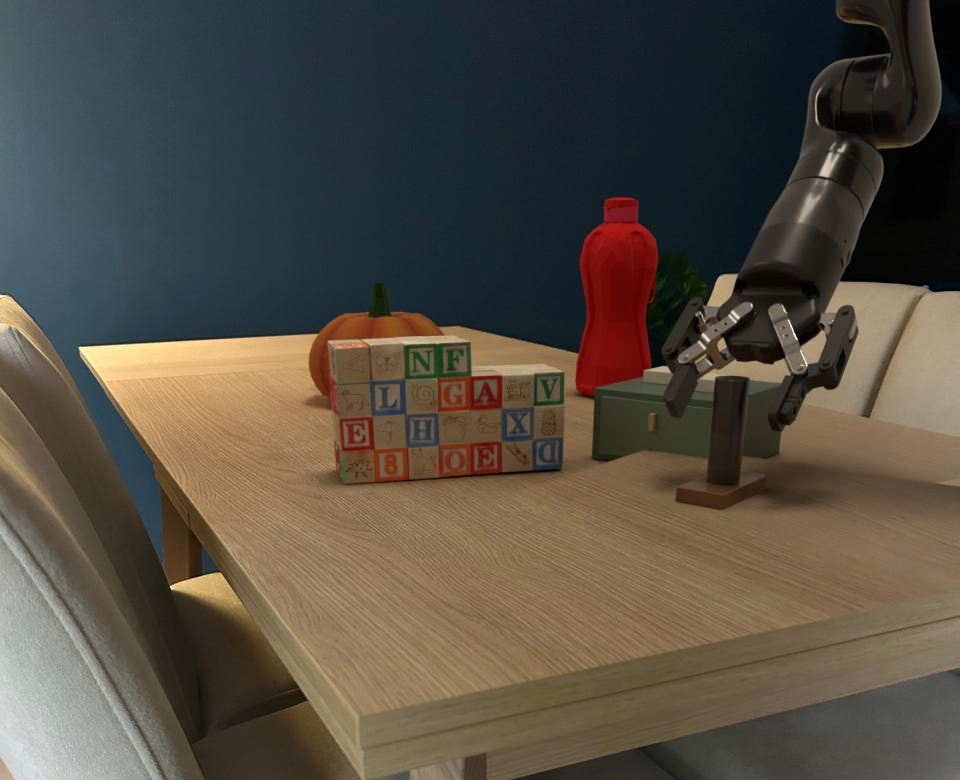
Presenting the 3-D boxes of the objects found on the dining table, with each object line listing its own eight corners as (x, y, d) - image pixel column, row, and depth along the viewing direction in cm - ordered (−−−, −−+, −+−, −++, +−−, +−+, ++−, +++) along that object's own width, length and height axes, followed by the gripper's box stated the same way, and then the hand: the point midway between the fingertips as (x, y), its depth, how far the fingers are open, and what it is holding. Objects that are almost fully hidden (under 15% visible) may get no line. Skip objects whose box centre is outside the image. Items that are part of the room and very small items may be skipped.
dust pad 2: (733, 388, 95) (734, 375, 95) (714, 393, 92) (716, 380, 92) (696, 384, 97) (697, 372, 97) (677, 389, 95) (678, 376, 94)
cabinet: (779, 452, 100) (787, 383, 98) (714, 479, 90) (721, 403, 87) (659, 436, 108) (664, 372, 106) (587, 459, 98) (589, 388, 95)
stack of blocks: (544, 456, 99) (546, 331, 94) (563, 470, 93) (567, 337, 89) (334, 469, 94) (325, 338, 89) (341, 484, 89) (333, 345, 84)
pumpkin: (398, 384, 145) (394, 277, 139) (482, 400, 131) (482, 282, 125) (285, 399, 133) (275, 283, 127) (365, 418, 120) (358, 289, 114)
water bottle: (669, 395, 134) (683, 197, 124) (604, 402, 129) (614, 196, 119) (628, 387, 141) (639, 198, 132) (566, 393, 136) (572, 198, 127)
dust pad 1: (696, 381, 99) (697, 369, 99) (677, 385, 97) (678, 373, 96) (662, 377, 102) (662, 366, 101) (642, 382, 99) (643, 370, 98)
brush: (718, 502, 82) (731, 370, 78) (763, 510, 80) (778, 374, 76) (673, 524, 77) (684, 381, 72) (719, 533, 74) (733, 386, 70)
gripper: (707, 218, 79) (625, 378, 76) (883, 218, 71) (802, 397, 68) (729, 284, 85) (655, 435, 82) (895, 291, 77) (820, 459, 73)
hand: (721, 418), depth 75 cm, fingers open, 8 cm apart
